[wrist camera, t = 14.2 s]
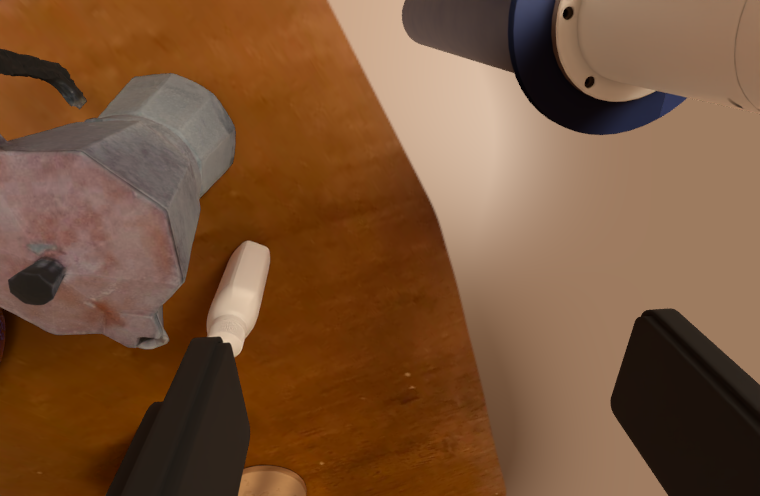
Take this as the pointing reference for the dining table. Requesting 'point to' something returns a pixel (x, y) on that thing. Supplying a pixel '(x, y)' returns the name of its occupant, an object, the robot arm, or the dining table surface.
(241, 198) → the dining table surface
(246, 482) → the cork trivet
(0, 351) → the planter
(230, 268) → the eye dropper bottle
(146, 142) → the moka pot
